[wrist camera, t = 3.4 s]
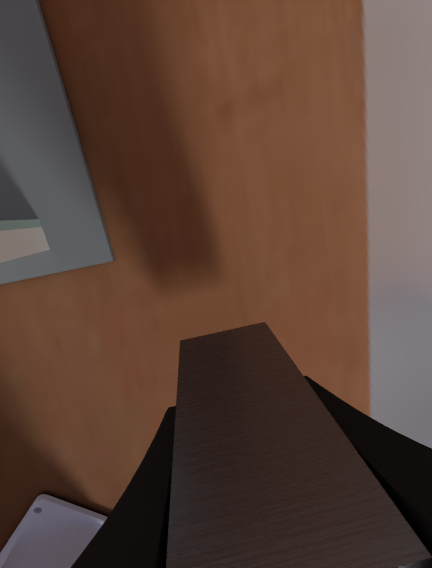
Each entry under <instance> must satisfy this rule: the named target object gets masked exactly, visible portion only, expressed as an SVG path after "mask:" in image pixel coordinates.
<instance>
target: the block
mask: <svg viewBox="0 0 432 568" xmlns="http://www.w3.org/2000/svg"><path fill="white" fill-rule="evenodd" d="M166 568H432V556H431V555H430V553H429V552H428V551H427V549H426V548H425V546H424V545H423V543H422V542H421V541H420V539H419V538H418V536H417V535H416V534H415V532H414V531H413V529H412V528H411V527H410V525H409V524H408V522H407V521H406V520H405V518H404V517H403V515H402V514H401V513H400V511H399V510H398V508H397V507H396V506H395V504H394V503H393V501H392V500H391V499H390V497H389V496H388V494H387V493H386V491H385V490H384V489H383V487H382V486H381V484H380V483H379V482H378V480H377V479H376V477H375V476H374V475H373V473H372V472H371V470H370V469H369V468H368V466H367V465H366V463H365V462H364V461H363V459H362V458H361V456H360V455H359V454H358V452H357V451H356V449H355V448H354V447H353V445H352V444H351V442H350V441H349V439H348V438H347V437H346V435H345V434H344V432H343V431H342V430H341V428H340V427H339V425H338V424H337V423H336V421H335V420H334V418H333V417H332V416H331V414H330V413H329V411H328V410H327V409H326V407H325V406H324V404H323V403H322V402H321V400H320V399H319V397H318V396H317V395H316V393H315V392H314V390H313V389H312V387H311V386H310V385H309V383H308V382H307V380H306V379H305V378H304V376H303V375H302V373H301V372H300V371H299V369H298V368H297V366H296V365H295V364H294V362H293V361H292V359H291V358H290V357H289V355H288V354H287V352H286V351H285V350H284V348H283V347H282V345H281V344H280V343H279V341H278V340H277V338H276V337H275V335H274V334H273V333H272V331H271V330H270V328H269V327H268V326H267V324H266V323H265V322H263V323H258V324H254V325H249V326H245V327H240V328H236V329H231V330H226V331H222V332H217V333H213V334H208V335H204V336H199V337H194V338H190V339H185V340H181V341H180V353H179V368H178V384H177V400H176V416H175V432H174V448H173V464H172V480H171V496H170V512H169V528H168V544H167V559H166Z"/></svg>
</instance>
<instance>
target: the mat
mask: <svg viewBox="0 0 432 568" xmlns="http://www.w3.org/2000/svg"><path fill="white" fill-rule="evenodd" d="M30 219H39V220H40V223H41V226H42V229H43V232H44V234H45V237H46V240H47V243H48V246H49V248H50V250H47V251H43V252H39V253H36V254H32V255H28V256H24V257H21V258H17V259H13V260H9V261H5V262H2V263H0V284H4V283H8V282H13V281H18V280H23V279H28V278H33V277H38V276H43V275H48V274H53V273H57V272H62V271H67V270H72V269H77V268H82V267H87V266H92V265H97V264H101V263H106V262H111V261H114V260H115V258H114V254H113V251H112V247H111V244H110V241H109V237H108V234H107V230H106V227H105V224H104V220H103V217H102V214H101V210H100V207H99V203H98V200H97V197H96V193H95V190H94V186H93V183H92V180H91V176H90V173H89V170H88V166H87V163H86V159H85V156H84V153H83V149H82V146H81V143H80V139H79V136H78V132H77V129H76V126H75V122H74V119H73V115H72V112H71V109H70V105H69V102H68V99H67V95H66V92H65V88H64V85H63V82H62V78H61V75H60V71H59V68H58V65H57V61H56V58H55V55H54V51H53V48H52V44H51V41H50V38H49V34H48V31H47V27H46V24H45V21H44V17H43V14H42V11H41V7H40V4H39V0H0V221H6V220H30Z"/></svg>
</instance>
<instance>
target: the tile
mask: <svg viewBox="0 0 432 568" xmlns="http://www.w3.org/2000/svg"><path fill="white" fill-rule="evenodd" d="M47 250H50V248H49V246H48V243H47V240H46V237H45V234H44V232H43V229H42V226H41V223H40V220H39V219H30V220H6V221H0V263H2V262H5V261H9V260H13V259H17V258H21V257H24V256H28V255H32V254H36V253H39V252H43V251H47Z"/></svg>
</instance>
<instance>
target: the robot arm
mask: <svg viewBox="0 0 432 568" xmlns="http://www.w3.org/2000/svg"><path fill="white" fill-rule="evenodd" d="M304 378H305V379H306V380H307V382H308V383H309V385H310V386H311V387H312V389H313V390H314V392H315V393H316V395H317V396H318V397H319V399H320V400H321V402H322V403H323V404H324V406H325V407H326V409H327V410H328V411H329V413H330V414H331V416H332V417H333V418H334V420H335V421H336V423H337V424H338V425H339V427H340V428H341V430H342V431H343V432H344V434H345V435H346V437H347V438H348V439H349V441H350V442H351V444H352V445H353V447H354V448H355V449H356V451H357V452H358V454H359V455H360V456H361V458H362V459H363V461H364V462H365V463H366V465H367V466H368V468H369V469H370V470H371V472H372V473H373V475H374V476H375V477H376V479H377V480H378V482H379V483H380V484H381V486H382V487H383V489H384V490H385V491H386V493H387V494H388V496H389V497H390V499H391V500H392V501H393V503H394V504H395V506H396V507H397V508H398V510H399V511H400V513H401V514H402V515H403V517H404V518H405V520H406V521H407V522H408V524H409V525H410V527H411V528H412V529H413V531H414V532H415V534H416V535H417V536H418V538H419V539H420V541H421V542H422V543H423V545H424V546H425V548H426V549H427V551H428V552H429V553H430V555H431V556H432V449H431V448H429V447H427V446H424V445H422V444H420V443H418V442H416V441H414V440H412V439H409V438H408V437H406V436H404V435H401V434H400V433H398V432H396V431H394V430H392V429H390V428H388V427H386V426H384V425H383V424H381V423H379V422H377V421H375V420H374V419H372V418H370V417H369V416H367V415H365V414H363V413H362V412H360V411H358V410H357V409H355V408H354V407H352V406H350V405H349V404H347V403H346V402H344V401H343V400H341V399H340V398H338V397H337V396H335V395H334V394H332V393H331V392H329V391H328V390H326V389H325V388H323V387H322V386H320V385H319V384H318V383H316V382H315V381H313V380H312V379H310V378H309V377H307V376H304ZM175 416H176V406H173V407H169V408H168V409H167V411H166V413H165V415H164V418H163V420H162V422H161V424H160V427H159V429H158V431H157V433H156V435H155V437H154V439H153V441H152V443H151V445H150V447H149V449H148V451H147V453H146V455H145V457H144V459H143V460H142V462H141V464H140V466H139V468H138V469H137V471H136V473H135V475H134V476H133V478H132V480H131V481H130V483H129V485H128V487H127V488H126V490H125V491H124V493H123V495H122V496H121V498H120V499H119V501H118V503H117V504H116V506H115V507H114V509H113V510H112V512H111V513H110V515H109V516H108V517H107V516H104V515H101V514H99V513H96V512H93V511H90V510H88V509H85V508H82V507H79V506H77V505H74V504H71V503H69V502H66V501H63V500H60V499H58V498H55V497H52V496H49V495H46V494H41V495H39V496H38V497H37V498H36V499H35V501H34V502H33V504H32V505H31V507H30V508H29V510H28V511H27V513H26V515H25V516H24V518H23V519H22V521H21V522H20V524H19V525H18V527H17V528H16V530H15V531H14V533H13V534H12V536H11V537H10V539H9V540H8V542H7V543H6V545H5V546H4V548H3V550H2V551H1V553H0V568H166V559H167V544H168V528H169V512H170V496H171V480H172V464H173V448H174V432H175Z"/></svg>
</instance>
